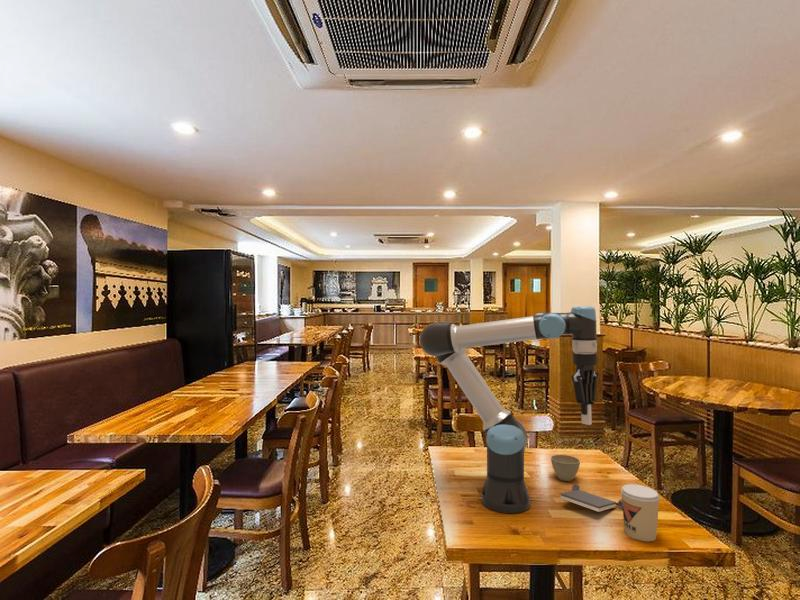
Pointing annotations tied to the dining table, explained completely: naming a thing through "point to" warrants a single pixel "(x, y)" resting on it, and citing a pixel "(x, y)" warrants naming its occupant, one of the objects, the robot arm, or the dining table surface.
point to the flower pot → (565, 466)
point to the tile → (588, 500)
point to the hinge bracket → (620, 506)
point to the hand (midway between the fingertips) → (586, 423)
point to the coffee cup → (640, 511)
